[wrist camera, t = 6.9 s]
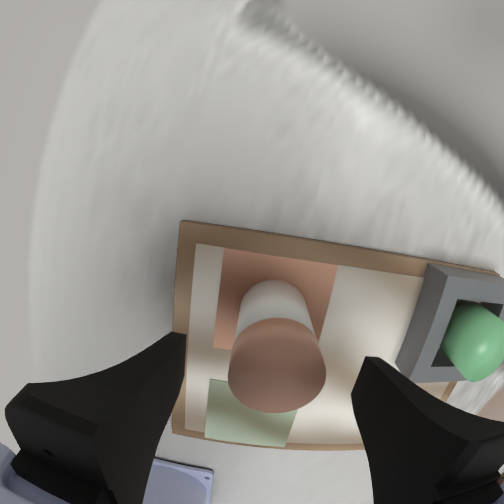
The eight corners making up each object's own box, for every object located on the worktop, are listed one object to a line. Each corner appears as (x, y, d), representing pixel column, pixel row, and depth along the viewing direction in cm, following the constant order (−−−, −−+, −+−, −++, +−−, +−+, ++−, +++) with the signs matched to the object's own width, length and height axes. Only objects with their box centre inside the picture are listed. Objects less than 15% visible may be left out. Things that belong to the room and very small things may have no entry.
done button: (471, 355, 16) (494, 379, 13) (430, 355, 16) (452, 383, 13) (492, 303, 15) (519, 323, 12) (452, 299, 15) (480, 321, 12)
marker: (301, 341, 17) (316, 414, 11) (237, 336, 17) (226, 409, 11) (311, 281, 16) (335, 341, 10) (241, 275, 16) (229, 334, 10)
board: (417, 439, 20) (420, 445, 20) (174, 427, 20) (171, 434, 20) (495, 271, 16) (501, 275, 16) (183, 219, 16) (179, 222, 16)
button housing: (466, 361, 17) (481, 378, 15) (394, 362, 17) (407, 383, 15) (498, 275, 16) (519, 287, 13) (427, 262, 16) (448, 275, 13)
